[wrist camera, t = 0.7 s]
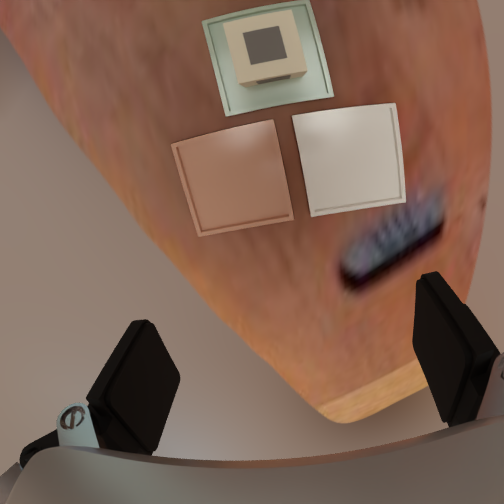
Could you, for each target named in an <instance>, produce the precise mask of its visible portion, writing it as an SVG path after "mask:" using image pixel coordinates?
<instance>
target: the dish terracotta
mask: <svg viewBox="0 0 504 504" xmlns="http://www.w3.org/2000/svg"><path fill="white" fill-rule="evenodd" d="M171 147H172V151H173V154H174V158H175V161H176V165H177V168H178V172H179V175H180V179H181V182H182V185H183V189H184V192H185V195H186V199H187V202H188V205H189V209H190V212H191V215H192V218H193V222H194V225H195V228H196V231H197V234H198V237H201V236H206V235H212V234H217V233H223V232H228V231H234V230H239V229H245V228H250V227H256V226H262V225H267V224H273V223H279V222H285V221H290V220H294V215H293V209H292V204H291V199H290V194H289V189H288V184H287V179H286V174H285V169H284V164H283V159H282V155H281V150H280V145H279V141H278V136H277V132H276V127H275V123H274V119H269V120H264V121H260V122H255V123H250V124H246V125H241V126H237V127H232V128H228V129H224V130H220V131H216V132H212V133H208V134H204V135H200V136H197V137H193V138H189V139H186V140H182V141H179V142H175V143H173V144H171Z"/></svg>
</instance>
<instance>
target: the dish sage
mask: <svg viewBox="0 0 504 504" xmlns="http://www.w3.org/2000/svg"><path fill="white" fill-rule="evenodd" d="M291 9H292V13H293V16H294V20H295V23H296V27H297V30H298V34H299V38H300V42H301V45H302V49H303V53H304V57H305V61H306V65H307V69H308V71H307V72H306V73H305V75H304V76H303V77H298V78H291V79H286V80H280V81H275V82H270V83H265V84H260V85H255V86H250V87H244V86H241V85H239V84H238V81H237V77H236V73H235V69H234V65H233V61H232V58H231V54H230V50H229V46H228V42H227V38H226V34H225V31H224V27H223V23H226V22H230V21H234V20H239V19H243V18H247V17H252V16H257V15H262V14H267V13H273V12H279V11H285V10H291ZM202 25H203V29H204V33H205V36H206V40H207V44H208V48H209V52H210V56H211V60H212V64H213V68H214V72H215V76H216V80H217V84H218V88H219V92H220V95H221V99H222V103H223V107H224V111H225V115H226V117H227V116H232V115H236V114H240V113H245V112H249V111H254V110H258V109H263V108H268V107H273V106H279V105H284V104H290V103H295V102H301V101H308V100H314V99H321V98H328V97H334V94H333V89H332V85H331V80H330V76H329V71H328V67H327V63H326V59H325V55H324V51H323V47H322V43H321V39H320V35H319V32H318V28H317V24H316V21H315V17H314V14H313V11H312V7H311V4H310V1H309V0H299V1H291V2H285V3H278V4H272V5H267V6H261V7H256V8H251V9H247V10H242V11H238V12H234V13H230V14H226V15H222V16H218V17H214V18H211V19H207V20H204V21H202Z"/></svg>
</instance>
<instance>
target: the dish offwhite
mask: <svg viewBox="0 0 504 504" xmlns="http://www.w3.org/2000/svg"><path fill="white" fill-rule="evenodd" d="M291 116H292V120H293V125H294V130H295V134H296V139H297V144H298V149H299V154H300V159H301V164H302V170H303V175H304V180H305V186H306V191H307V197H308V203H309V209H310V214H311V217H314V216H320V215H326V214H333V213H339V212H345V211H351V210H358V209H364V208H371V207H377V206H384V205H390V204H397V203H404V202H406V194H405V179H404V166H403V156H402V146H401V138H400V130H399V123H398V116H397V110H396V103H384V104H373V105H362V106H353V107H345V108H337V109H329V110H322V111H315V112H309V113H303V114H297V115H291Z"/></svg>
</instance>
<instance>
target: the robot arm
mask: <svg viewBox="0 0 504 504" xmlns="http://www.w3.org/2000/svg"><path fill="white" fill-rule="evenodd" d="M412 342H413V348H414V351H415V353H416V356H417V358H418V360H419V363H420V365H421V368H422V370H423V372H424V375H425V377H426V380H427V382H428V385H429V387H430V390H431V393H432V395H433V398H434V401H435V403H436V406H437V409H438V412H439V414H440V417H441V419H442V421H443V422H444V423H445V422H447V423H448V426H449V428H446V429H443V430H439V431H436V432H433V433H429V434H426V435H422V436H418V437H414V438H410V439H406V440H402V441H398V442H394V443H389V444H385V445H381V446H376V447H371V448H366V449H361V450H355V451H349V452H342V453H336V454H329V455H321V456H313V457H302V458H291V459H276V460H255V461H254V460H252V461H217V460H194V459H178V458H167V457H158V456H152V453H153V451H155V450H156V449H157V447H158V444H159V441H160V438H161V435H162V432H163V429H164V426H165V423H166V420H167V418H168V415H169V412H170V409H171V406H172V403H173V400H174V397H175V394H176V391H177V389H178V386H179V383H180V374H179V371H178V370H177V368H176V366H175V364H174V362H173V361H172V359H171V357H170V355H169V353H168V351H167V349H166V347H165V346H164V343H163V341H162V339H161V337H160V335H159V333H158V331H157V330H156V327H155V326H154V324H153V323H150V321H148V320H146V319H145V320H135V321H132V322H131V324H130V325H129V327H128V328H127V330H126V332H125V333H124V335H123V336H122V338H121V339H120V341H119V343H118V345H117V346H116V348H115V349H114V351H113V353H112V354H111V356H110V358H109V359H108V361H107V363H106V364H105V366H104V367H103V369H102V371H101V372H100V374H99V376H98V378H97V379H96V381H95V383H94V384H93V386H92V388H91V390H90V391H89V393H88V395H87V397H86V399H87V401H88V402H89V405H88V406H86V405H85V404H83V403H74V404H71V405H69V406H67V407H66V408H65V409H63V410H62V411H61V413H60V415H59V416H58V419H57V429H56V430H54V431H53V432H51V433H49V434H47V435H45V436H43V437H41V438H39V439H38V440H36V441H34V442H32V443H30V444H29V445H27V446H26V447H24V449H23V450H22V453H21V455H20V464H19V463H18V462H16V463H15V464H14V465H13V466H12V467H10V468H9V469H8V470H7V471H6V472H5V473H4V474H2V475H1V476H0V504H504V353H502V354H500V352H499V351H498V349H497V347H496V346H495V345H494V343H493V341H492V340H491V338H490V337H489V336H488V334H487V333H486V331H485V330H484V328H483V327H482V325H481V324H480V323H479V321H478V320H477V318H476V317H475V316H474V314H473V313H472V312H471V310H470V309H469V307H468V306H467V305H466V304H463V303H462V302H461V301H460V299H459V298H458V297H457V295H456V294H455V293H454V291H453V290H452V289H451V287H450V286H449V285H448V284H447V282H446V281H445V280H444V279H443V277H442V276H441V275H440V274H439V272H437V271H435V272H431V273H426V274H422V275H421V278H420V279H419V280H417V282H416V299H415V316H414V329H413V340H412Z"/></svg>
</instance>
